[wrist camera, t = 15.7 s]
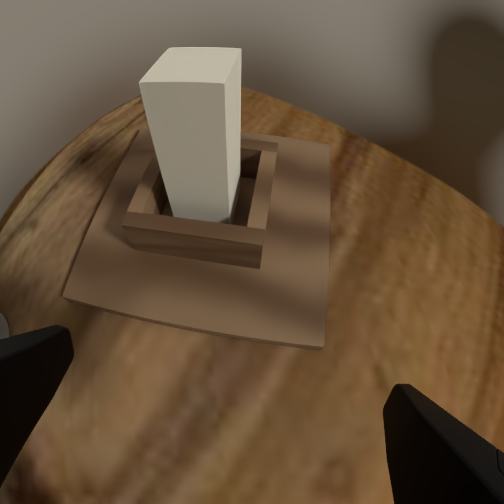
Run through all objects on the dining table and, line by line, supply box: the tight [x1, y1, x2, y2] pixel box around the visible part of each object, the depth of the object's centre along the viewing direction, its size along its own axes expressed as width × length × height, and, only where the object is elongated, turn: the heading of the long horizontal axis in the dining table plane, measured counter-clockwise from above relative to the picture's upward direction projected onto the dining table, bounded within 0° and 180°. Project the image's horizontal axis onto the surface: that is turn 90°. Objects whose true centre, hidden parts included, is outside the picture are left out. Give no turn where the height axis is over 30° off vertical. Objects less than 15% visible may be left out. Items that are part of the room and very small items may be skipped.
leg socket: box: [62, 126, 330, 350], centre depth 24 cm, size 20×20×4 cm
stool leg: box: [139, 47, 241, 225], centre depth 20 cm, size 4×4×13 cm
